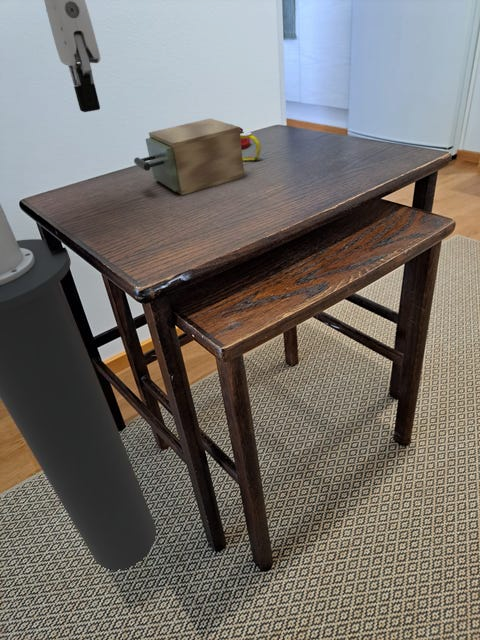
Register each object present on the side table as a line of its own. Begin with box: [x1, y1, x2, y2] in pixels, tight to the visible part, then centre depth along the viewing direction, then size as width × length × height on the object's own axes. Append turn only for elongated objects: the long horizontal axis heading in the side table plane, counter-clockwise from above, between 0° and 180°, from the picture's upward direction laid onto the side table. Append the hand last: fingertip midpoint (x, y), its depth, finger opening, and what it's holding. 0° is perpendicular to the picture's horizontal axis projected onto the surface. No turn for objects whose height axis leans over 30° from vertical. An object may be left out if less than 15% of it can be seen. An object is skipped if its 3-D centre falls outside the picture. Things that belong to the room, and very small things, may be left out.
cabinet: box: [148, 118, 245, 196], centre depth 95 cm, size 15×13×10 cm
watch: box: [240, 131, 262, 162], centre depth 103 cm, size 6×3×6 cm, turn 64°
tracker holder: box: [231, 123, 251, 149], centre depth 117 cm, size 12×4×10 cm
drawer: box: [133, 137, 180, 192], centre depth 93 cm, size 18×12×8 cm
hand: (90, 110), depth 79 cm, fingers closed
